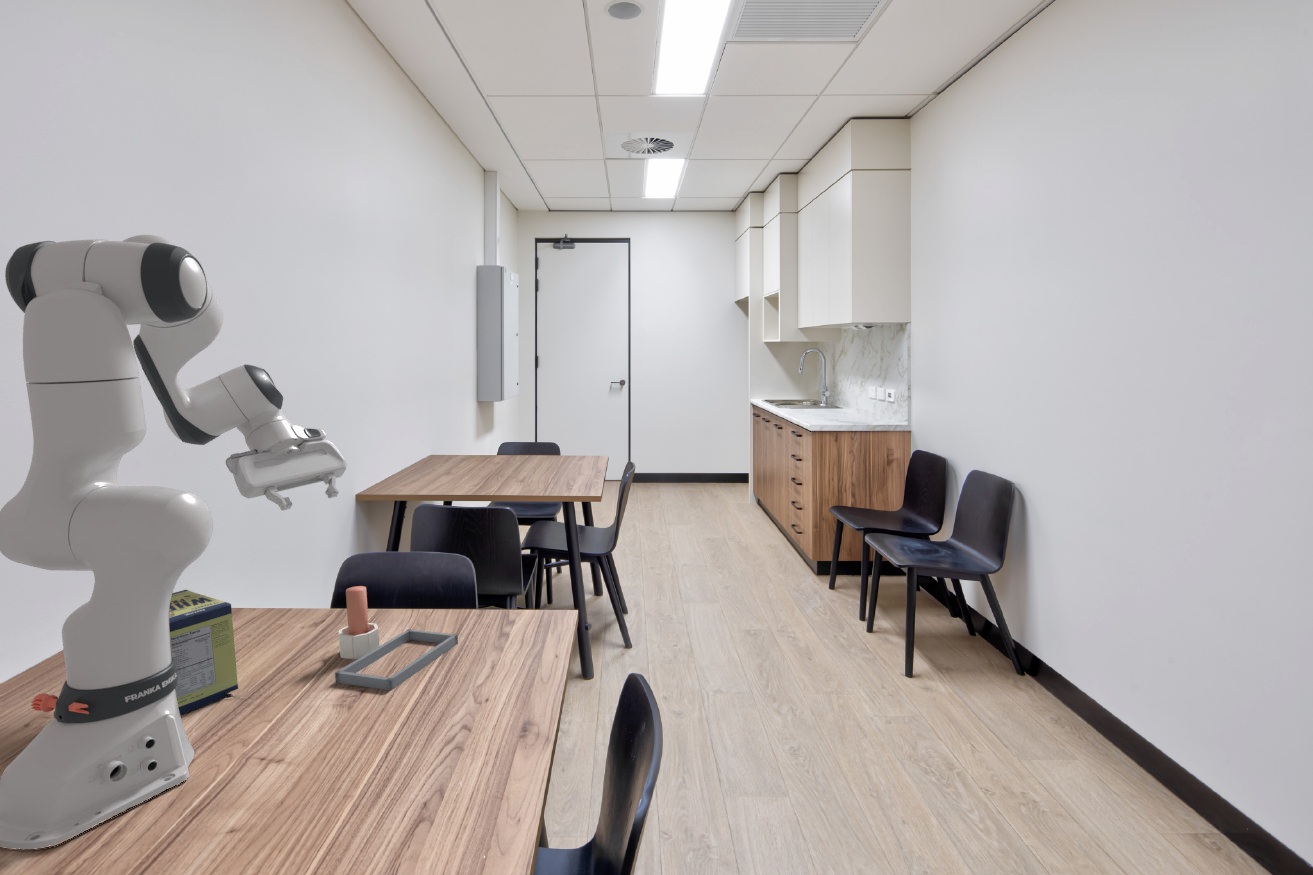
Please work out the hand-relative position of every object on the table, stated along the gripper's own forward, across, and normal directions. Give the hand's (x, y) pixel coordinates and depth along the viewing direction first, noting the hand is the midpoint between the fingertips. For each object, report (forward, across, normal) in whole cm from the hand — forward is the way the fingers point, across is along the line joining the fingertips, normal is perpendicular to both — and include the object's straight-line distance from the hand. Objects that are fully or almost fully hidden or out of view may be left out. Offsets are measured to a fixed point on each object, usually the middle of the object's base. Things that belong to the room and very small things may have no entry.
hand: (311, 501), depth 133 cm
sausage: (+28, -1, +10) cm, 30 cm away
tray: (+36, 0, +3) cm, 36 cm away
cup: (+28, -1, +11) cm, 31 cm away
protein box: (+20, -26, +18) cm, 38 cm away
